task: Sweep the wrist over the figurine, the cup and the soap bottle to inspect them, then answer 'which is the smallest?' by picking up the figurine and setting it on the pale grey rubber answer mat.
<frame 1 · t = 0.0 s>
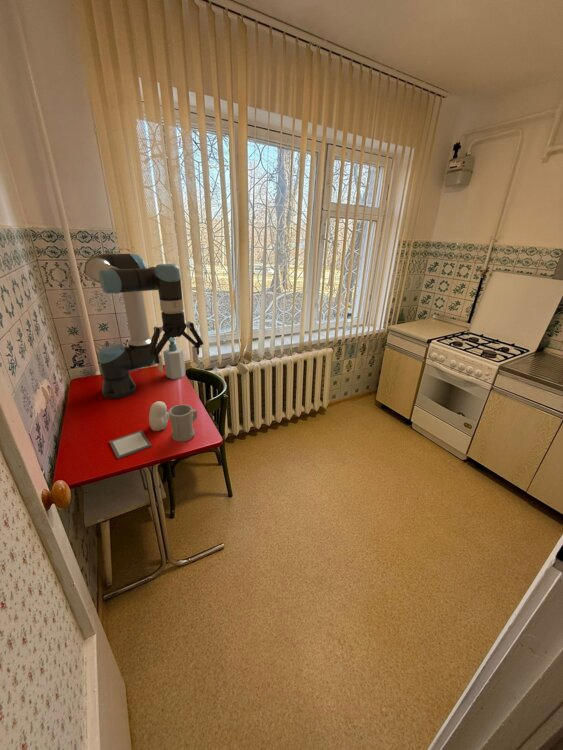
hand: (178, 366, 115), 28 cm above the table, fingers open, 13 cm apart
soap bottle: (176, 375, 171), on the table
answer mat: (130, 444, 115), on the table
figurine: (160, 427, 126), on the table
cup: (184, 434, 123), on the table
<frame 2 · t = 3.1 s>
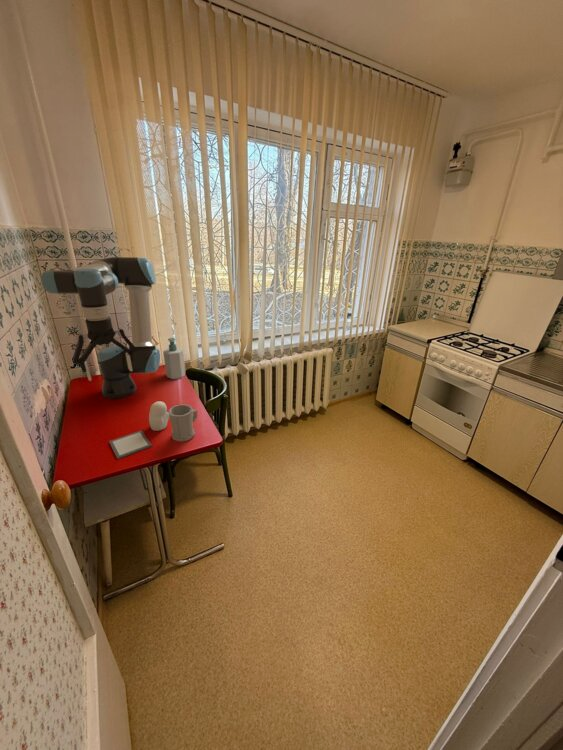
hand: (110, 374, 111), 26 cm above the table, fingers open, 13 cm apart
nothing on the table moved.
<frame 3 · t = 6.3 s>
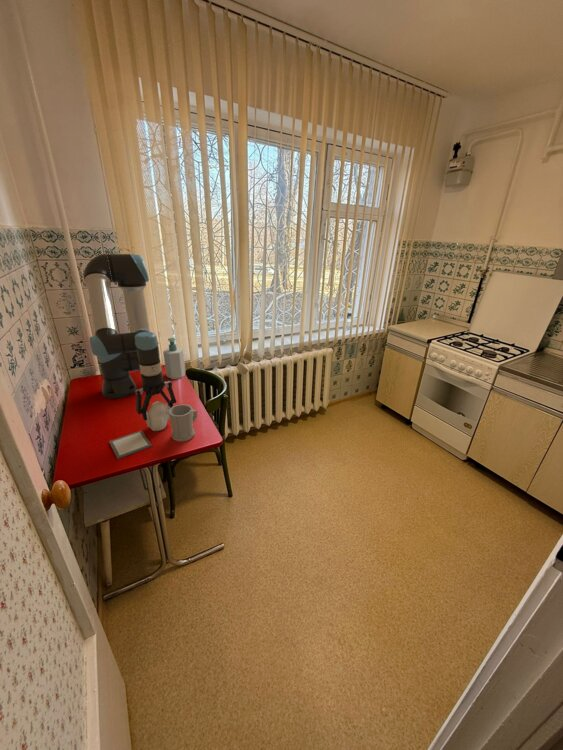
hand: (159, 422, 125), 2 cm above the table, fingers closed on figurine, 8 cm apart
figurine: (159, 427, 126), on the table, touching gripper
everything else where it was.
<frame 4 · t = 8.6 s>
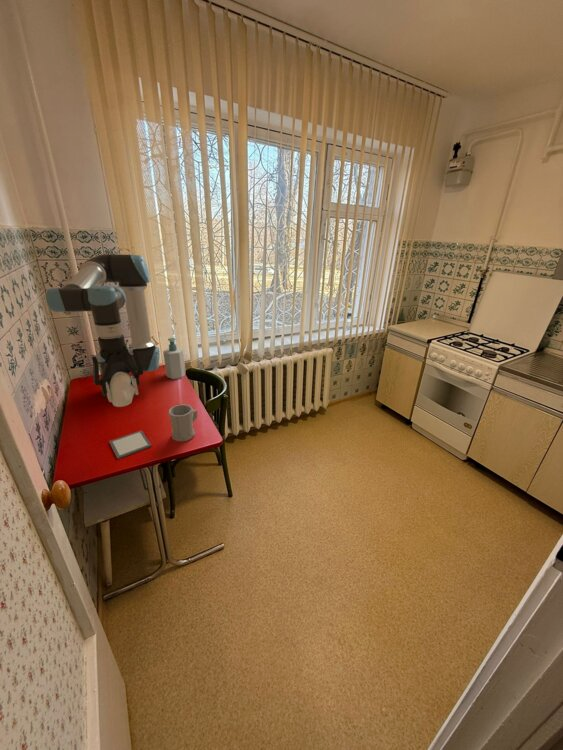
hand: (123, 396, 107), 20 cm above the table, fingers closed on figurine, 8 cm apart
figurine: (123, 403, 108), point 18 cm above the table, touching gripper
everything else where it was.
when the fingers open (3 cm above the table, at t = 11.3 s): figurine stays where it is, resting on answer mat.
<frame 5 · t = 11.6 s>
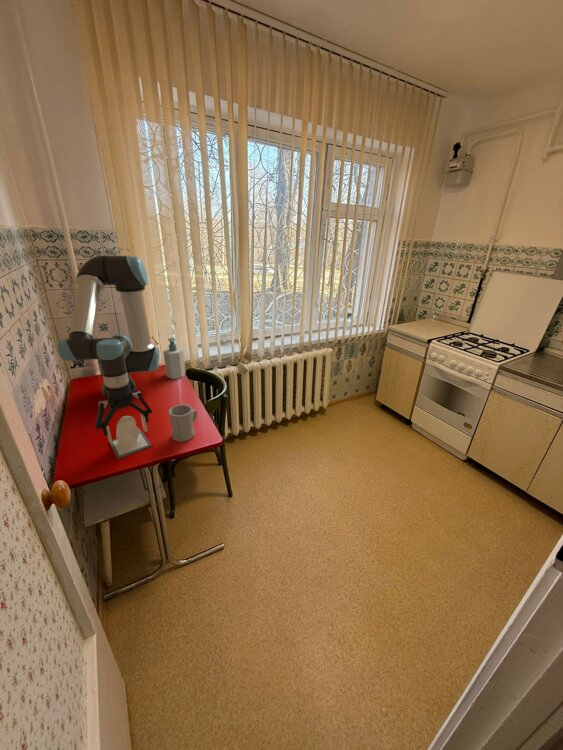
hand: (128, 435, 113), 4 cm above the table, fingers open, 11 cm apart
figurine: (129, 443, 115), resting on answer mat
everything else where it was.
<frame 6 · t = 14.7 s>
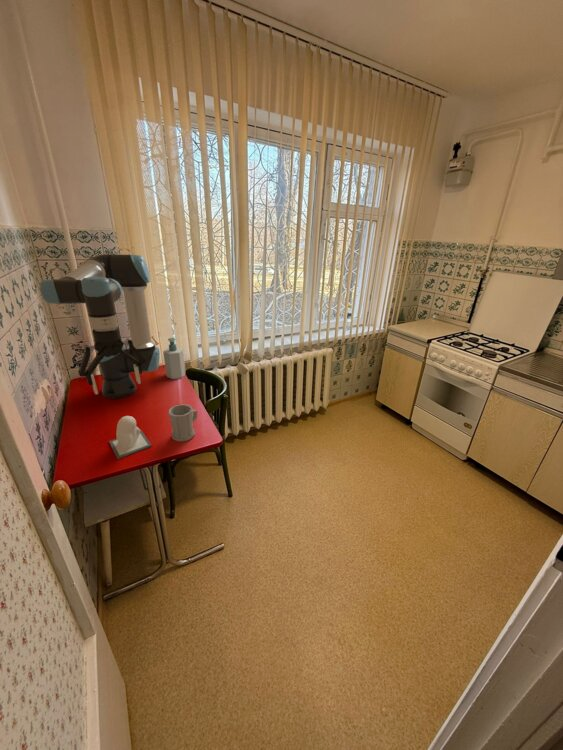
hand: (118, 387, 105), 25 cm above the table, fingers open, 13 cm apart
nothing on the table moved.
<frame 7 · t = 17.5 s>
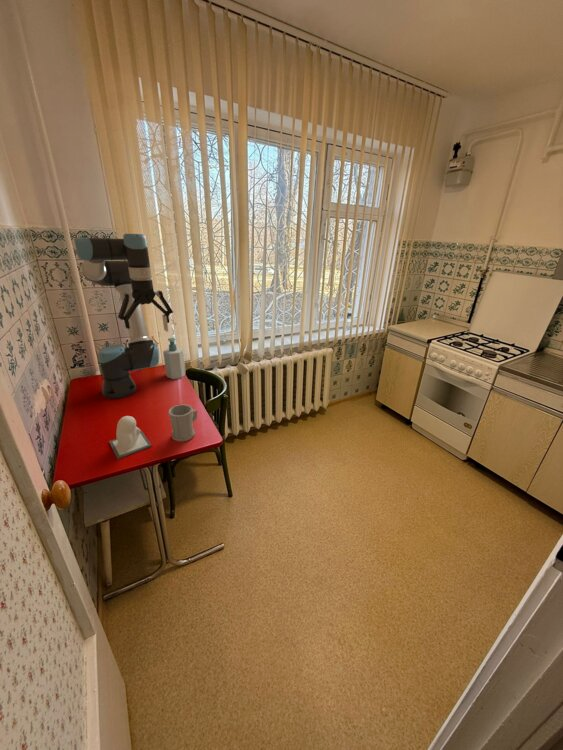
hand: (149, 333, 122), 37 cm above the table, fingers open, 13 cm apart
nothing on the table moved.
at the end: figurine inside the target area on the answer mat (0.3 cm from its centre), point 0.4 cm above the answer mat's base; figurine tilted 0°; the gripper is holding nothing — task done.
